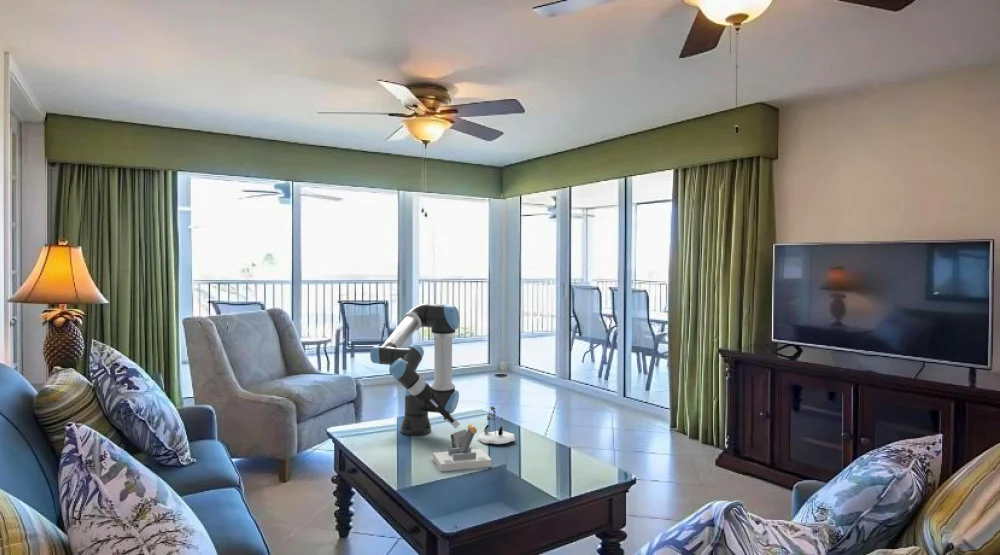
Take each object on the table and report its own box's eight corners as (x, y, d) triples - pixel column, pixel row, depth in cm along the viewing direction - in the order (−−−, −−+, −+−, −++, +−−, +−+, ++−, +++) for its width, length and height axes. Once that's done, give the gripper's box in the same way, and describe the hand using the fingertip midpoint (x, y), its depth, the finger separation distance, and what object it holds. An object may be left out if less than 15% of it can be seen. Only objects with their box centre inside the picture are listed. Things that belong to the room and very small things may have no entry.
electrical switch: (457, 452, 263) (456, 433, 263) (449, 450, 265) (449, 432, 266) (469, 447, 269) (468, 429, 269) (462, 446, 272) (461, 428, 272)
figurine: (524, 441, 279) (522, 406, 279) (492, 447, 268) (491, 412, 269) (500, 433, 295) (499, 401, 296) (469, 439, 285) (468, 406, 285)
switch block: (432, 459, 252) (433, 447, 251) (481, 455, 259) (481, 443, 259) (440, 471, 239) (441, 458, 238) (491, 466, 246) (491, 454, 246)
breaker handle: (456, 451, 251) (469, 423, 252) (461, 453, 252) (473, 425, 253) (460, 456, 246) (472, 427, 247) (465, 458, 246) (477, 429, 248)
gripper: (430, 386, 236) (468, 423, 242) (422, 379, 248) (459, 415, 255) (416, 399, 234) (455, 437, 241) (410, 392, 246) (446, 427, 253)
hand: (457, 425), depth 248 cm, fingers closed
